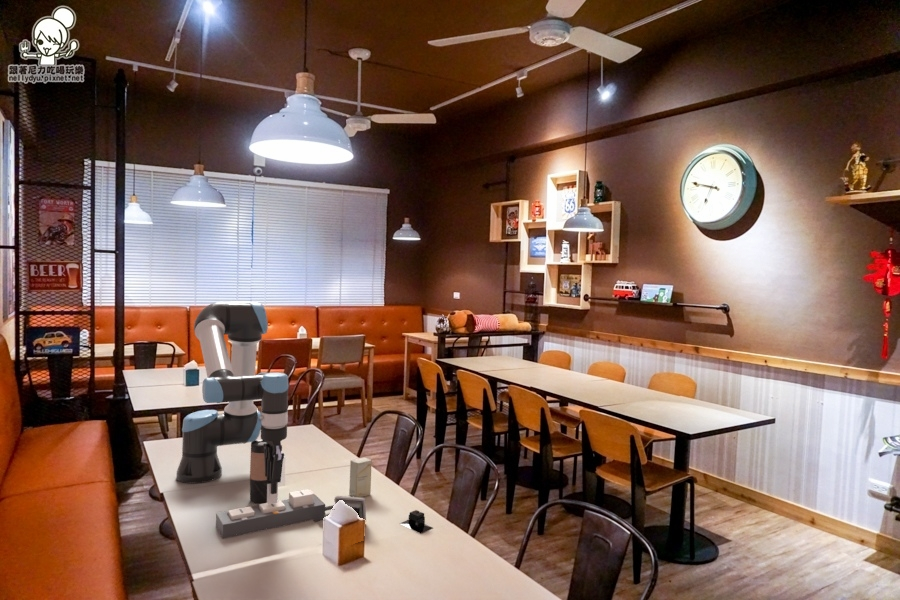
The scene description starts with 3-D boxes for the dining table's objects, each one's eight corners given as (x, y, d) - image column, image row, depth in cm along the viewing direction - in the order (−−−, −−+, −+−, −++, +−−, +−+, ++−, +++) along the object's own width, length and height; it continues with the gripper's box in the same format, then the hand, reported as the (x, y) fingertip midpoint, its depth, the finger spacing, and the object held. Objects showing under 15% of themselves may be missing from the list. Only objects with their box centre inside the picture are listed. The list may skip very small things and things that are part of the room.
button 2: (259, 520, 174) (259, 504, 174) (280, 516, 177) (280, 500, 177) (263, 526, 170) (263, 509, 170) (284, 521, 174) (285, 505, 174)
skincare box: (356, 498, 196) (357, 463, 195) (348, 494, 199) (349, 460, 198) (371, 494, 200) (372, 459, 200) (363, 490, 203) (364, 456, 203)
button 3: (288, 508, 179) (289, 492, 179) (308, 504, 182) (309, 488, 182) (293, 513, 175) (293, 497, 175) (313, 509, 179) (314, 493, 178)
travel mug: (266, 508, 185) (267, 446, 184) (244, 505, 187) (246, 444, 186) (278, 499, 193) (279, 440, 192) (257, 496, 194) (258, 437, 193)
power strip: (215, 529, 169) (216, 512, 169) (330, 506, 189) (331, 490, 189) (222, 542, 162) (223, 523, 162) (341, 516, 181) (342, 500, 181)
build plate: (439, 530, 176) (439, 516, 175) (422, 538, 170) (422, 523, 170) (410, 517, 184) (411, 503, 184) (393, 524, 178) (394, 510, 178)
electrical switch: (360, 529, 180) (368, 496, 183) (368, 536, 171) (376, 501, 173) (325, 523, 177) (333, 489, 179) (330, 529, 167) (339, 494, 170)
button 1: (227, 527, 169) (228, 510, 169) (250, 522, 172) (250, 505, 172) (231, 533, 165) (231, 515, 165) (254, 528, 169) (254, 511, 169)
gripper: (255, 421, 176) (253, 497, 177) (267, 432, 165) (265, 513, 166) (279, 418, 180) (278, 493, 181) (293, 429, 169) (291, 508, 170)
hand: (272, 502), depth 174 cm, fingers closed
